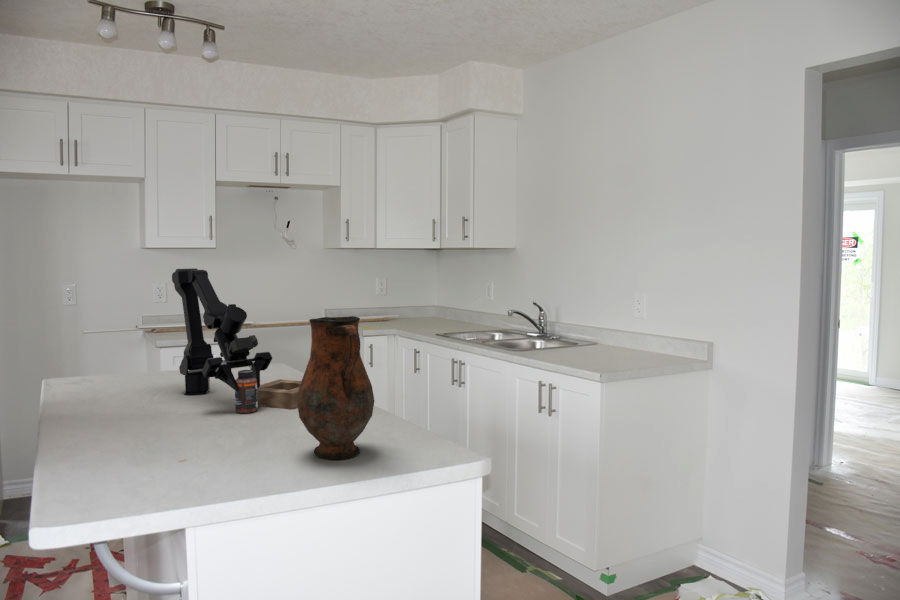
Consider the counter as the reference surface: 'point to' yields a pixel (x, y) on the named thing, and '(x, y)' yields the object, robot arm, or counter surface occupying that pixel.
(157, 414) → the counter surface
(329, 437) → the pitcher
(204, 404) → the counter surface
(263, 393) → the walnut well
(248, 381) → the supplement bottle
